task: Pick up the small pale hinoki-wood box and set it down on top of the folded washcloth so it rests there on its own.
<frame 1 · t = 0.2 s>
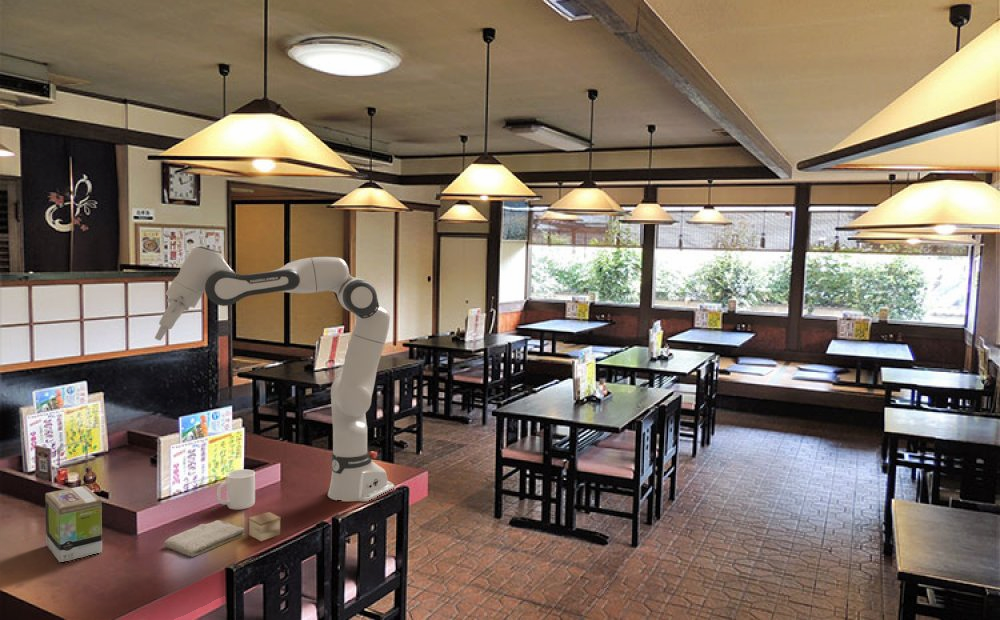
hand: (159, 337, 199), 54 cm above the table, tool tilted 30°, fingers open, 8 cm apart
cup: (235, 507, 212), on the table
tea box: (74, 550, 180), on the table
washcloth: (206, 543, 188), on the table
hinoki box: (264, 535, 193), on the table
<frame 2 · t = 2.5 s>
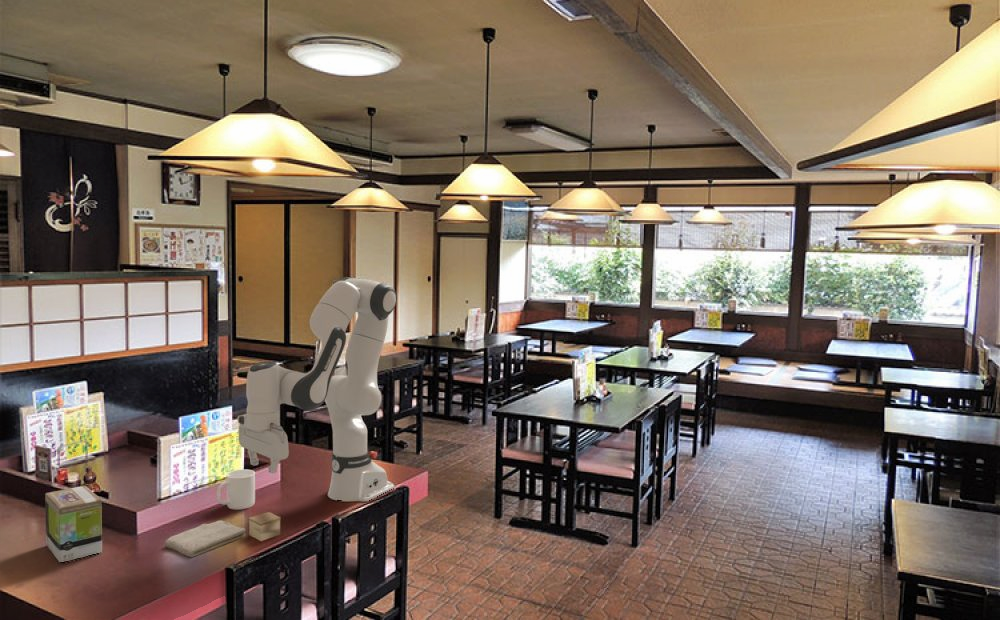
hand: (263, 468, 191), 19 cm above the table, tool pointing down, fingers open, 8 cm apart
nothing on the table moved.
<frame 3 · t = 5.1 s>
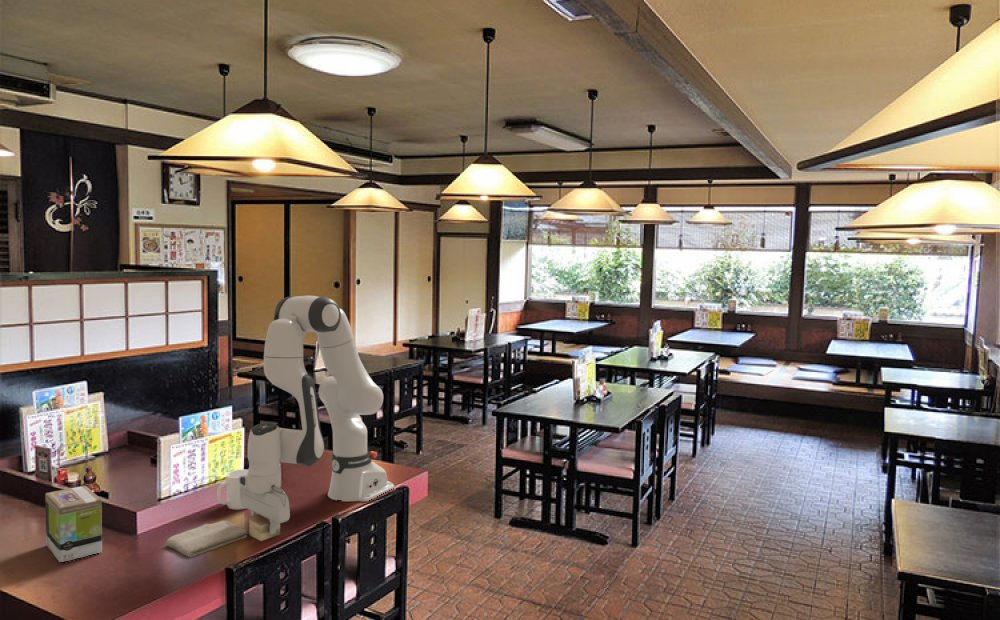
hand: (264, 529, 192), 2 cm above the table, tool pointing down, fingers closed on hinoki box, 6 cm apart
hinoki box: (264, 534, 193), on the table, touching gripper
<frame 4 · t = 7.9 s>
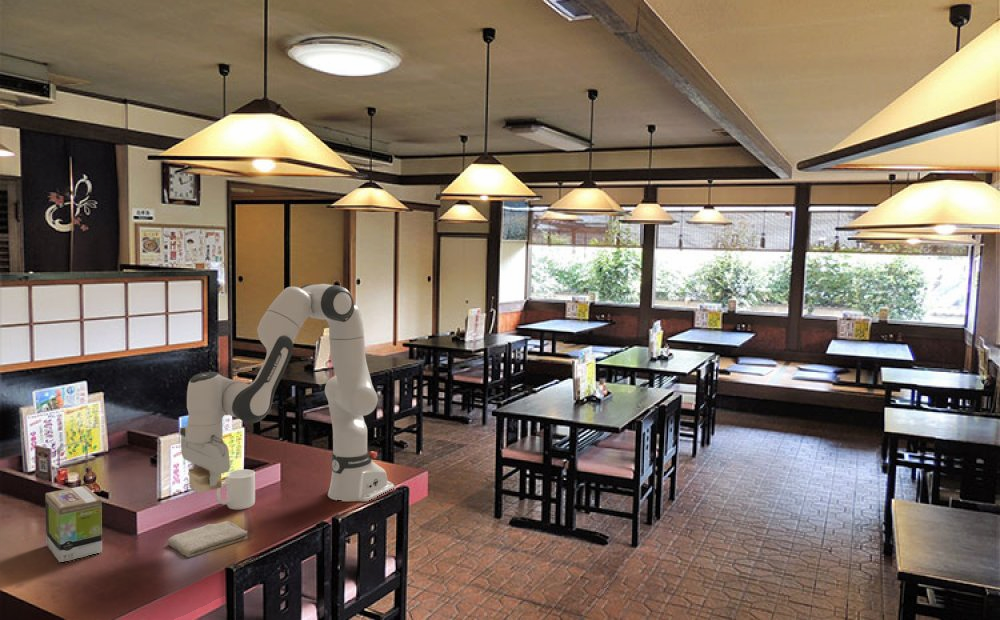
hand: (205, 481, 186), 17 cm above the table, tool pointing down, fingers closed on hinoki box, 6 cm apart
hinoki box: (205, 487, 186), point 15 cm above the table, touching gripper
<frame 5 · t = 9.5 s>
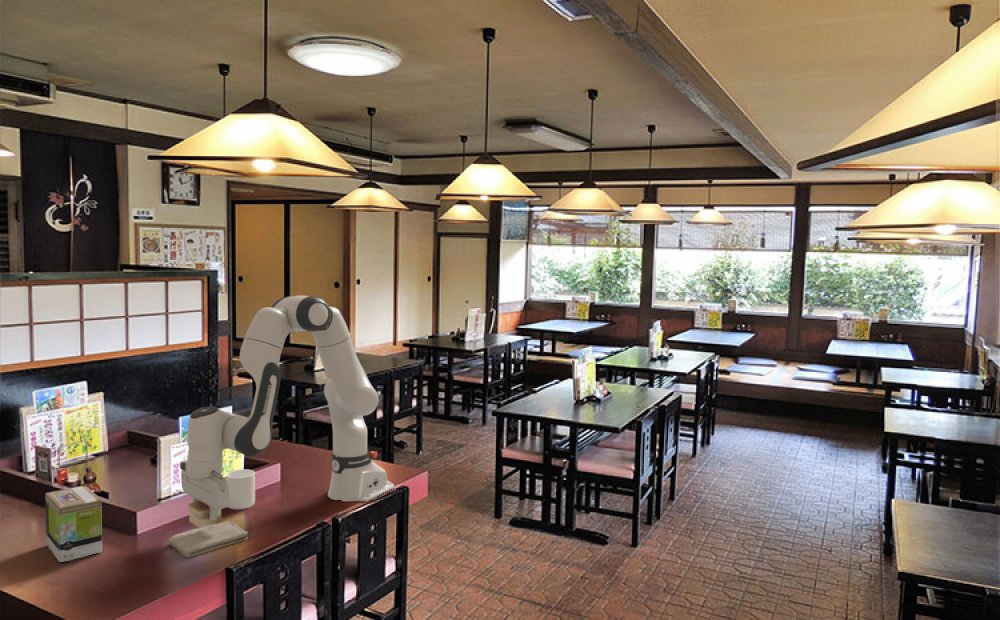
hand: (205, 516, 187), 7 cm above the table, tool pointing down, fingers closed on hinoki box, 6 cm apart
hinoki box: (205, 521, 187), point 5 cm above the table, touching gripper
when the fingers open (6 cm above the table, at t = 10.7 s): hinoki box drops 2 cm, resting on washcloth.
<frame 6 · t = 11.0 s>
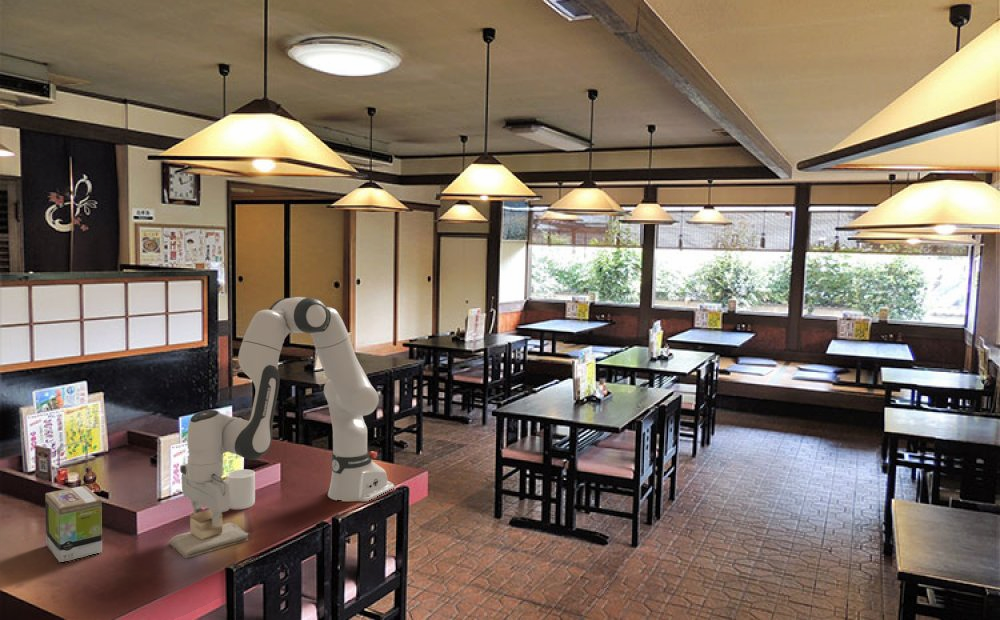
hand: (206, 519, 187), 6 cm above the table, tool pointing down, fingers open, 8 cm apart
washcloth: (210, 545, 187), on the table, touching hinoki box
hinoki box: (206, 532, 187), point 2 cm above the table, touching washcloth
everything else where it was.
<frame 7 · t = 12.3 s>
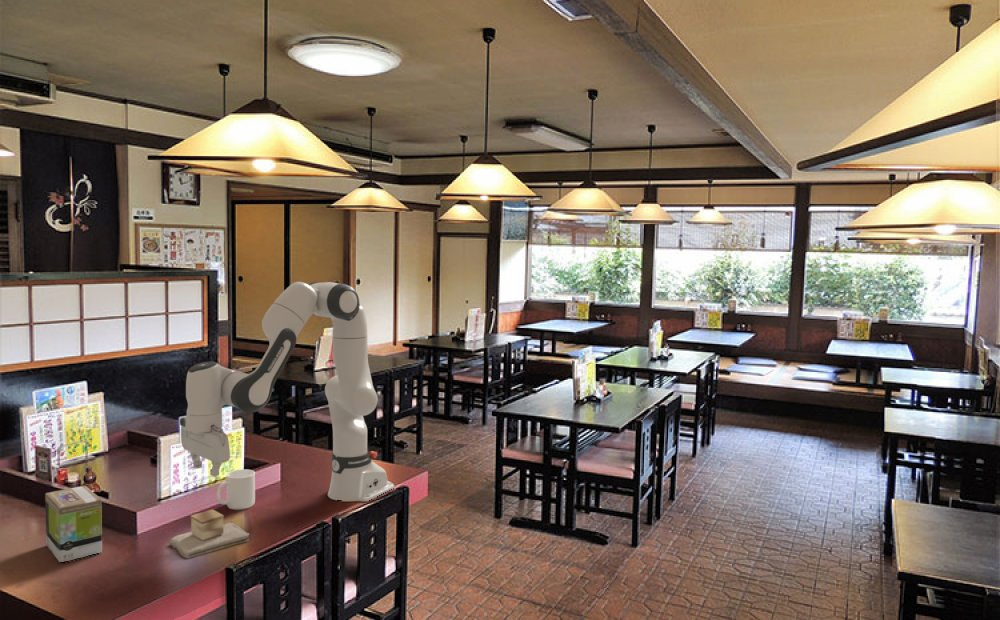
hand: (206, 471, 186), 20 cm above the table, tool pointing down, fingers open, 8 cm apart
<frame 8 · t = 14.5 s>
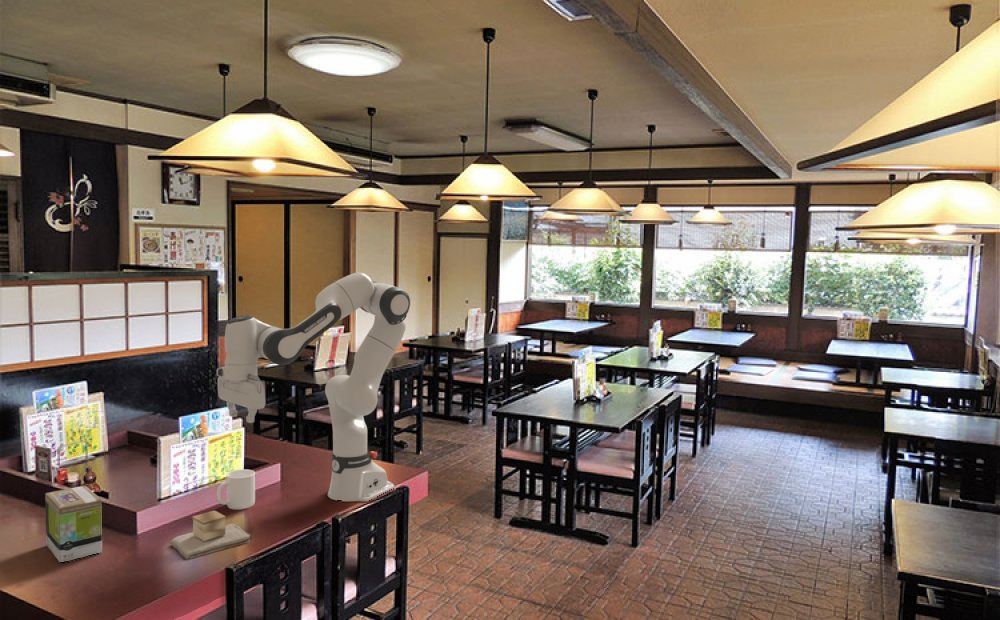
hand: (241, 419, 197), 31 cm above the table, tool pointing down, fingers open, 8 cm apart
at the end: hinoki box inside the target area on the washcloth (0.8 cm from its centre), point 3.3 cm above the washcloth's base; hinoki box touching washcloth; hinoki box tilted 0° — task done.
